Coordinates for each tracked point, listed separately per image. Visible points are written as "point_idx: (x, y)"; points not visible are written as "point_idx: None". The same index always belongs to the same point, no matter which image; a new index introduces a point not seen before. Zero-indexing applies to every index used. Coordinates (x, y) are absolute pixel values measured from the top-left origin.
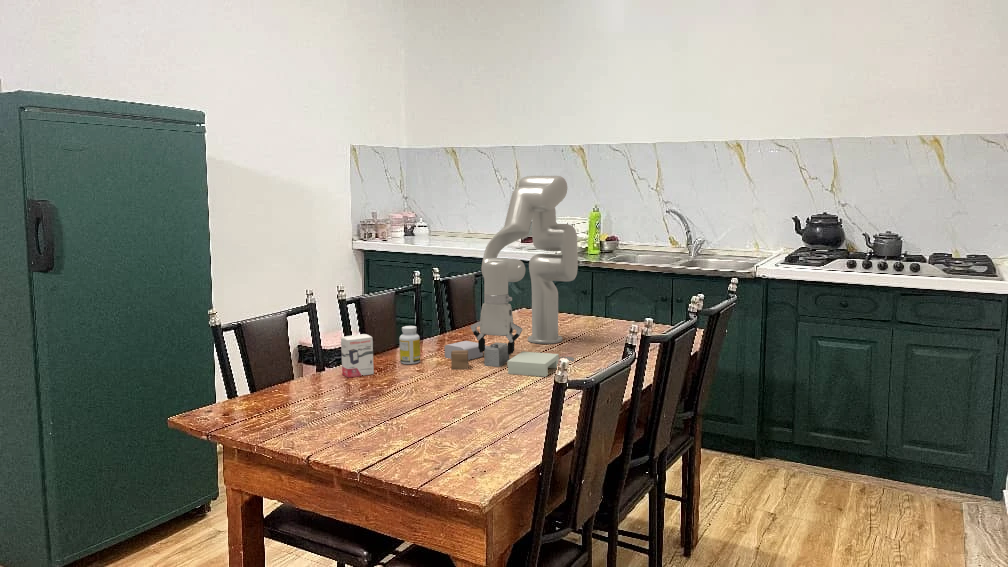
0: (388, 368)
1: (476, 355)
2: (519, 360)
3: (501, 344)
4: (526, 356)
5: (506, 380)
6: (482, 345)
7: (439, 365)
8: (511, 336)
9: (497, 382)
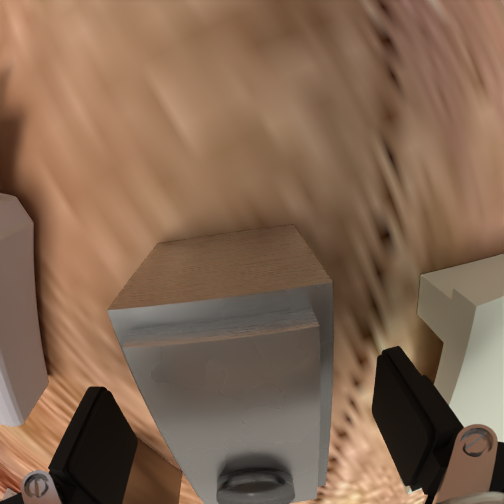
0: (6, 473)
1: (28, 299)
2: None
3: (275, 415)
4: (495, 399)
5: (399, 482)
6: (119, 471)
7: (45, 445)
8: (462, 488)
9: (377, 501)
